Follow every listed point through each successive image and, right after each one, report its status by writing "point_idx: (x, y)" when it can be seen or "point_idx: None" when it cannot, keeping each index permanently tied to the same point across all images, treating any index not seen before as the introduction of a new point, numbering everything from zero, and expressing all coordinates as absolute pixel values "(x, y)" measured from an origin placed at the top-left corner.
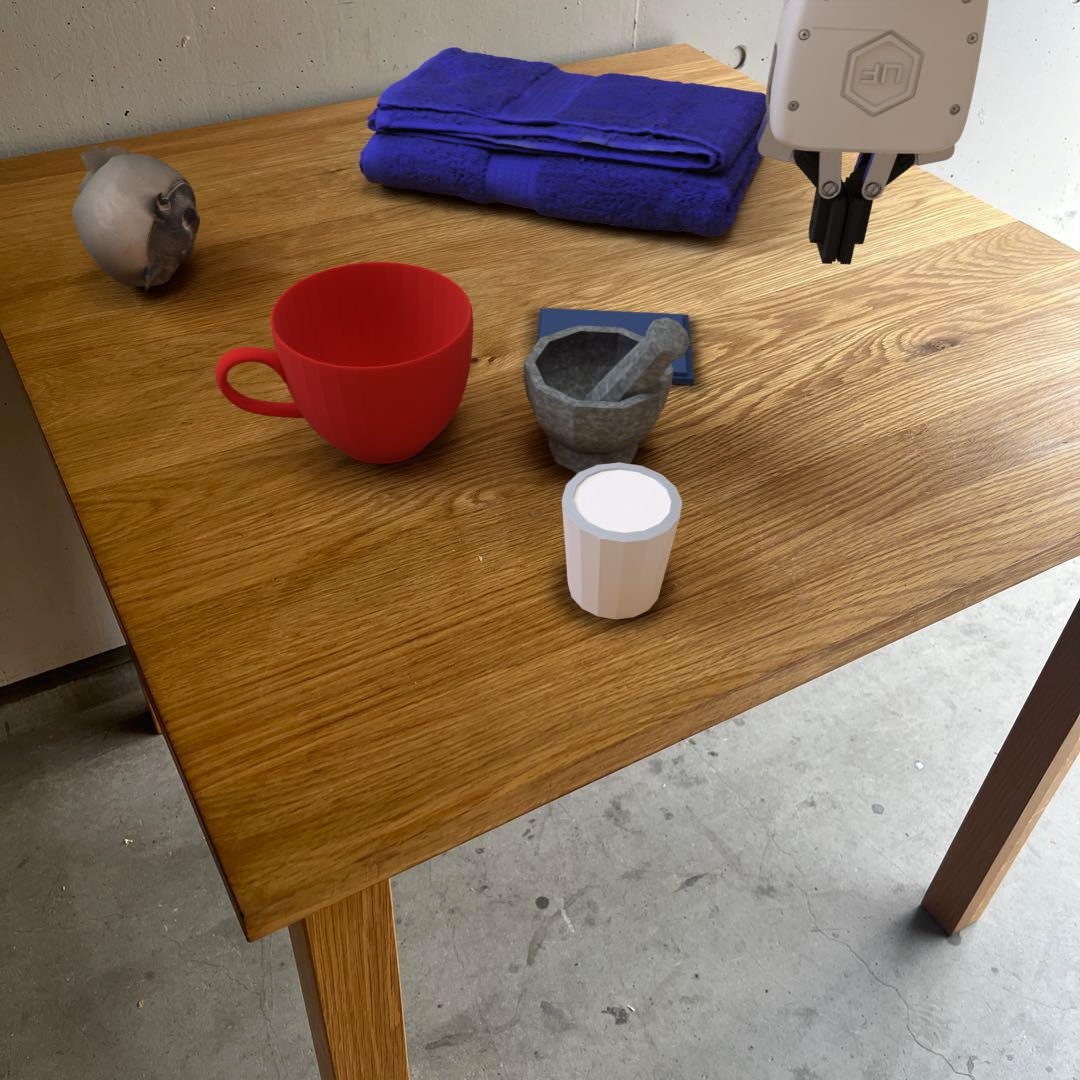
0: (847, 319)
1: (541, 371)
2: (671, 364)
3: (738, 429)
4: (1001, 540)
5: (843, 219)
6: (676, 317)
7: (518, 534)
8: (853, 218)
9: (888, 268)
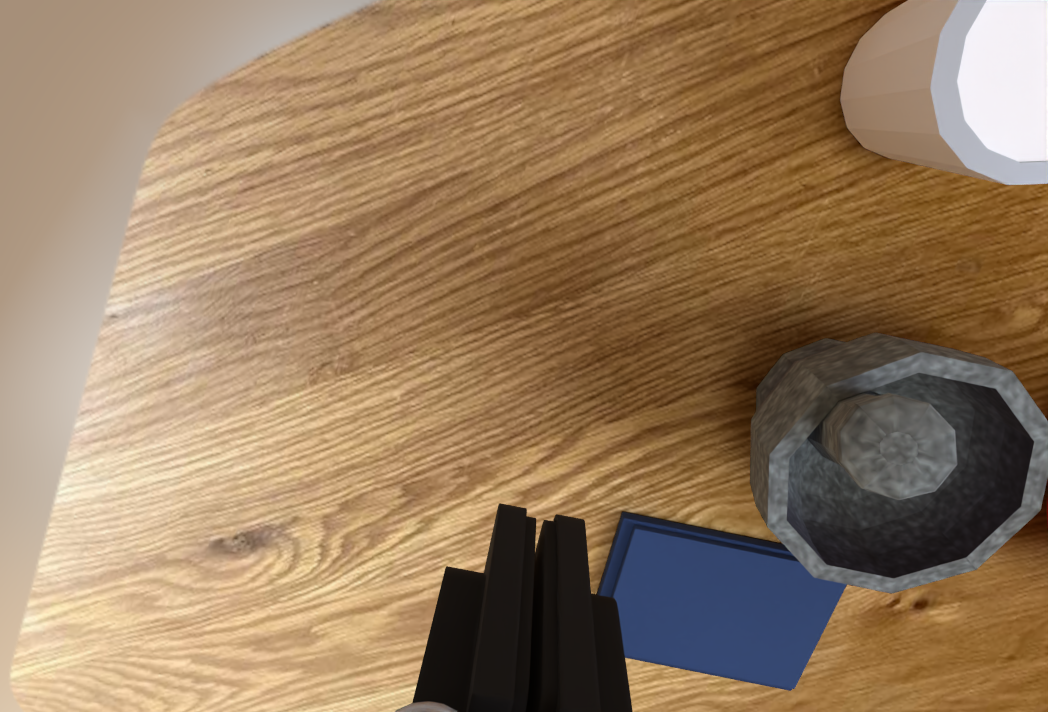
0: (353, 612)
1: (964, 506)
2: (651, 548)
3: (589, 410)
4: (270, 108)
5: (544, 637)
6: None
7: (1015, 223)
8: (509, 631)
9: (264, 702)
